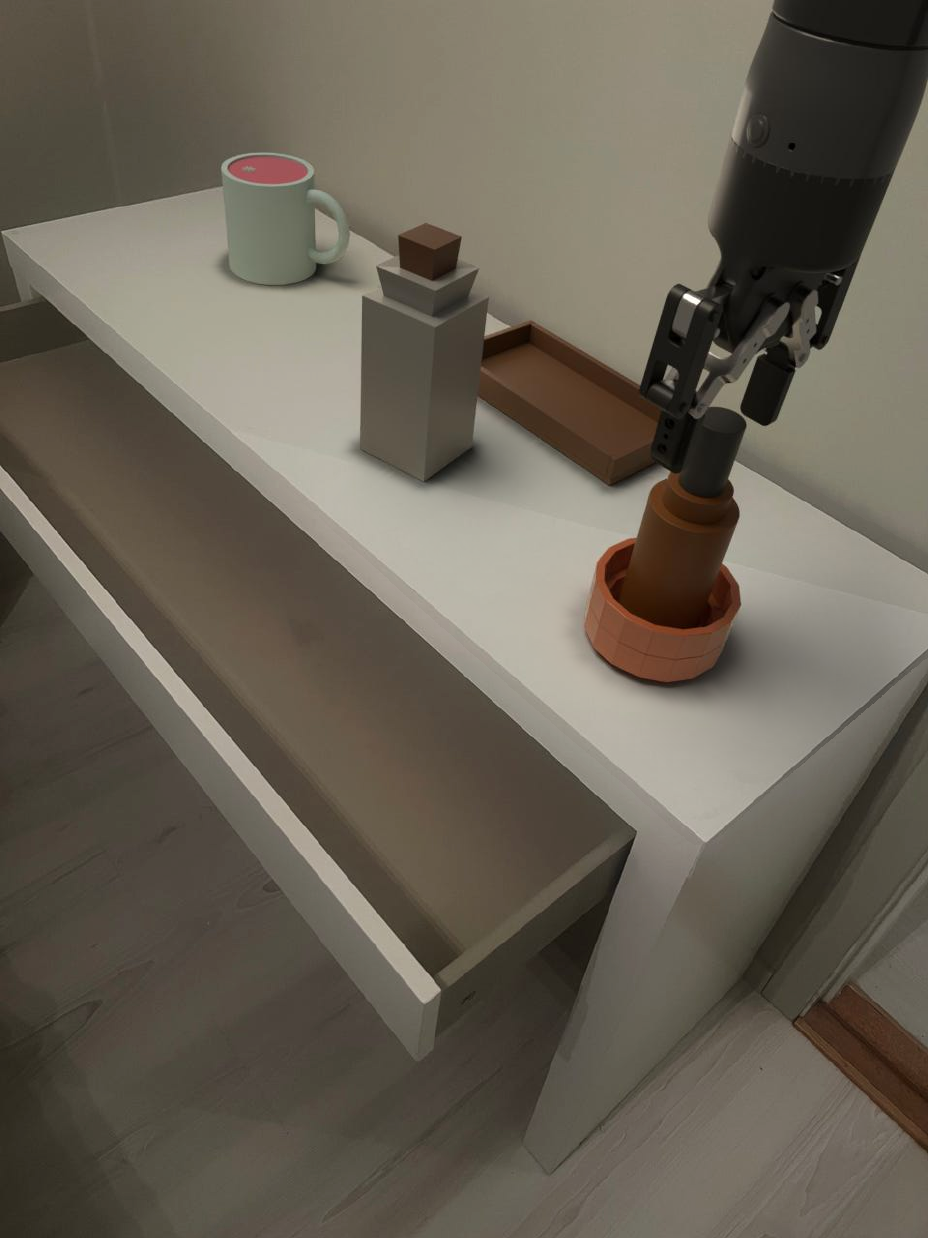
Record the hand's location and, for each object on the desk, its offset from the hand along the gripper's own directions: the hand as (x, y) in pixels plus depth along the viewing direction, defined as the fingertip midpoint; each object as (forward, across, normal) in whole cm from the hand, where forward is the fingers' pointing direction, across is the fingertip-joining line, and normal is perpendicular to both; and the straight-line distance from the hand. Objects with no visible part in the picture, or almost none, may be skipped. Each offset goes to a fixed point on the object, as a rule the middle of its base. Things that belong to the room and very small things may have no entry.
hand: (714, 440), depth 54 cm
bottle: (+16, 0, 0) cm, 16 cm away
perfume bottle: (+16, +1, +27) cm, 31 cm away
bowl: (+16, 0, 0) cm, 16 cm away
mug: (+17, +11, +60) cm, 63 cm away
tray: (+16, +17, +24) cm, 33 cm away
